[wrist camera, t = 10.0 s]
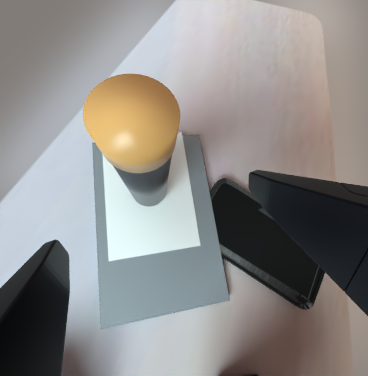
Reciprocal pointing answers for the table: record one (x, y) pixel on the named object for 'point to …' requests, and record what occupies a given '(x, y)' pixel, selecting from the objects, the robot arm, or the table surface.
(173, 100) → the grey cylinder
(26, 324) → the robot arm
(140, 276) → the writing board
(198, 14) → the table surface
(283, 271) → the phone
